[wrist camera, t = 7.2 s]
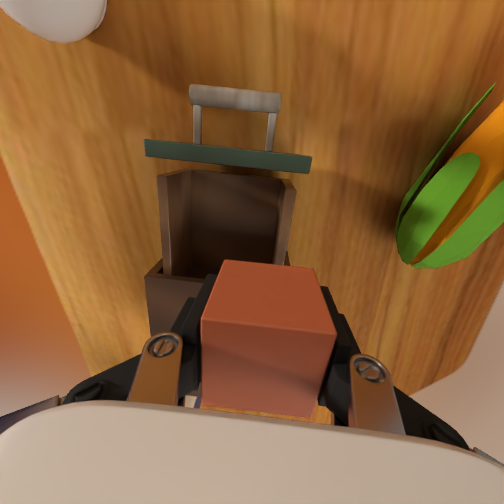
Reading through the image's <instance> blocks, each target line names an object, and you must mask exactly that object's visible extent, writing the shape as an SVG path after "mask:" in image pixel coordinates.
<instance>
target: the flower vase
mask: <svg viewBox="0 0 504 504" xmlns="http://www.w3.org/2000/svg"><path fill="white" fill-rule="evenodd" d="M0 7H1V8H2V9H3V10H4V12H5V13H6V14H7V15H8V16H9V17H10V18H12V19H13V20H14V21H15V22H17V23H18V24H19V25H21V26H22V27H24V28H25V29H26V30H28V31H29V32H30V33H32V34H33V35H35V36H38V37H40V38H43V39H45V40H48V41H50V42H55V43H67V44H69V43H72V42H76V41H79V40H83V39H84V38H85V37H86V36H88V35H89V34H90V33H92V32H93V31H94V30H95V29H97V28H98V27H99V26H100V24H101V22H102V21H103V19H104V16H105V13H106V8H107V0H0Z"/></svg>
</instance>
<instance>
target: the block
mask: <svg viewBox="0 0 504 504" xmlns="http://www.w3.org/2000/svg"><path fill="white" fill-rule="evenodd" d="M336 337H337V332H336V329H335V326H334V324H333V321H332V318H331V315H330V313H329V310H328V307H327V304H326V302H325V299H324V296H323V294H322V291H321V288H320V285H319V283H318V280H317V277H316V274H315V272H314V269H312V268H303V267H293V266H284V265H274V264H265V263H255V262H245V261H236V260H224V262H223V264H222V267H221V269H220V272H219V274H218V277H217V279H216V282H215V284H214V287H213V289H212V292H211V294H210V297H209V299H208V302H207V304H206V307H205V309H204V312H203V314H202V317H201V393H202V405H207V406H215V407H224V408H232V409H240V410H248V411H256V412H264V413H272V414H281V415H289V416H297V417H305V418H311V417H312V414H313V411H314V408H315V405H316V401H317V398H318V395H319V392H320V388H321V385H322V382H323V379H324V376H325V372H326V369H327V366H328V363H329V359H330V356H331V353H332V350H333V346H334V343H335V340H336Z"/></svg>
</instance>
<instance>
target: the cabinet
mask: <svg viewBox="0 0 504 504" xmlns="http://www.w3.org/2000/svg"><path fill="white" fill-rule="evenodd" d="M284 266H290V263H289V257H288V252H287V251H286V255H285V261H284ZM144 278H145V288H146V297H147V306H148V315H149V324H150V334H151V337H152V336H154V335H156V334H158V333H162V332H169V331H170V329H171V328H172V326H173V324H174V322H175V320H176V318H177V316H178V315H179V313H180V311H181V309H182V307H183V305H184V304H185V302H186V300H187V298H188V297H194V298H196V297H197V295H198V293H199V291H200V289H201V287H202V285H203V283H204V281H205V279H199V278H190V277H182V276H173V275H165V274H164V270H163V258H162V259H161V260H160V261H159V262H158V263H157V264H156V265H155V266H154V267H153V268H152V269H151V270H150V271H149V272H148V273H147V274H146V275H145V277H144ZM187 395H188V396H195V397H202V393H201V383H200V384H199V387H198V391H194V390H193V391H192V392H190V393H189V394H187Z"/></svg>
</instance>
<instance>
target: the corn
mask: <svg viewBox="0 0 504 504" xmlns="http://www.w3.org/2000/svg"><path fill="white" fill-rule="evenodd" d="M495 83H496V82H495ZM495 83H494V84H493V85H492V86H491V88H490V89H489V90H488V91H487V92H486V93H485V94H484V96H483V97H482V98H481V99H480V100H479V101H478V102H477V104H476V105H475V106H474V107H473V108H472V109H471V110H470V112H469V113H468V114H467V115H466V116H465V117H464V118H463V120H462V121H461V122H460V124H459V125H458V126H457V128H456V129H455V130H454V132H453V133H452V134H451V136H450V137H449V138H448V140H447V141H446V142H445V144H444V145H443V146H442V147H441V149H440V150H439V151H438V153H437V154H436V155H435V157H434V158H433V159H432V161H431V162H430V163H429V165H428V166H427V167H426V169H425V170H424V171H423V173H422V174H421V175H420V177H419V178H418V179H417V181H416V182H415V183H414V184H413V186H412V187H411V188H410V190H409V191H408V192H407V194H406V195H405V197H404V199H403V201H402V203H401V206H400V210H399V214H398V218H397V221H396V226H395V238H396V243H397V249H398V253H399V254H400V257H401V259H402V261H403V262H405V263H406V264H410V265H411V266H412V267H414V268H439V267H442V266H445V265H448V264H450V263H453V262H456V261H459V260H462V259H464V258H467V257H468V256H469V255H470V254H471V253H472V252H473V251H474V250H475V249H476V248H477V247H478V246H479V245H480V244H481V243H482V242H483V241H485V240H486V239H487V238H488V237H489V236H490V235H491V234H492V233H493V232H494V231H495V230H496V229H497V228H498V227H499V226H500V225H501V224H502V223H503V222H504V101H503V102H502V103H501V104H500V105H499V106H498V107H497V108H496V109H495V110H494V111H493V112H492V113H491V114H490V115H489V116H488V117H487V118H486V119H485V120H484V121H483V123H482V124H481V125H480V126H479V127H478V128H477V129H476V130H475V131H474V132H473V133H472V134H471V135H470V136H469V137H468V138H467V139H466V140H465V141H464V142H463V143H462V144H461V145H460V146H459V147H458V148H457V149H456V151H455V152H454V153H453V154H452V156H451V157H450V158H449V160H448V161H447V162H446V163H445V165H444V166H443V167H442V168H441V169H440V170H439V171H438V172H437V173H436V174H435V176H434V177H433V178H432V179H431V180H430V181H429V182H428V184H427V185H426V186H425V187H424V188H423V189H422V190H421V192H420V193H419V195H418V196H417V198H416V199H415V201H414V202H413V204H412V205H411V207H410V208H409V209H408V211H407V212H406V214H405V215H404V217H403V214H404V212H405V211H406V209H407V208H408V206H409V205H410V203H411V202H412V200H413V199H414V197H415V196H416V194H417V193H418V191H419V190H420V188H421V187H422V185H423V184H424V182H425V181H426V179H427V177H428V176H429V174H430V173H431V171H432V170H433V168H434V167H435V165H436V164H437V162H438V161H439V160H440V158H441V157H442V155H443V154H444V153H445V151H446V150H447V148H448V147H449V146H450V144H451V143H452V141H453V140H454V139H455V137H456V136H457V134H458V133H459V131H460V130H461V129H462V127H463V126H464V125H465V124H466V122H467V121H468V120H469V119H470V117H471V116H472V115H473V114H474V113H475V111H476V110H477V109H478V108H479V106H480V105H481V104H482V103H483V101H484V100H485V99H486V98H487V96H488V95H489V94H490V93H491V91H492V89H493V87H494V85H495ZM402 217H403V218H402Z"/></svg>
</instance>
